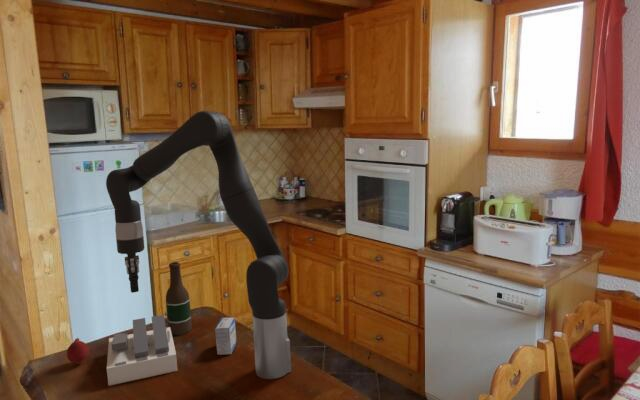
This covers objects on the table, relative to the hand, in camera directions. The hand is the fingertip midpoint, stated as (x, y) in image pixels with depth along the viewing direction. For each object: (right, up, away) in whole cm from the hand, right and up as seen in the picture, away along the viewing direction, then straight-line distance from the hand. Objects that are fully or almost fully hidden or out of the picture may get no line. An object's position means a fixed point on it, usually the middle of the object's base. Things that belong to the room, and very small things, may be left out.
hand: (134, 291), depth 141 cm
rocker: (+3, -13, -4) cm, 14 cm away
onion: (-15, -21, -3) cm, 26 cm away
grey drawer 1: (+8, -12, -2) cm, 15 cm away
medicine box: (+27, -19, +4) cm, 33 cm away
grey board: (-2, -13, -6) cm, 15 cm away
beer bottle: (+8, -17, +18) cm, 26 cm away
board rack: (+3, -20, -2) cm, 21 cm away
